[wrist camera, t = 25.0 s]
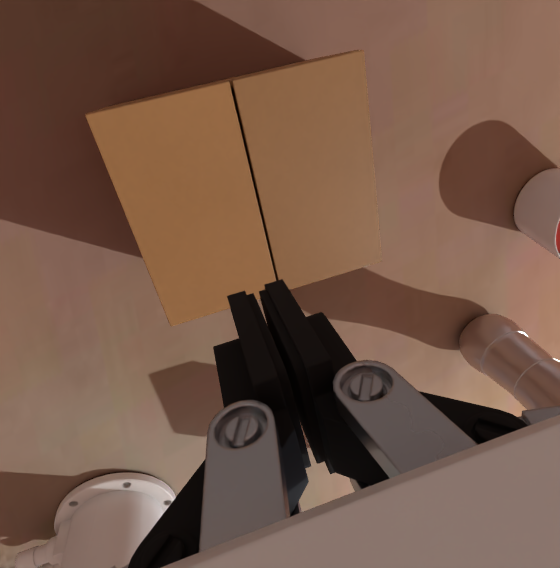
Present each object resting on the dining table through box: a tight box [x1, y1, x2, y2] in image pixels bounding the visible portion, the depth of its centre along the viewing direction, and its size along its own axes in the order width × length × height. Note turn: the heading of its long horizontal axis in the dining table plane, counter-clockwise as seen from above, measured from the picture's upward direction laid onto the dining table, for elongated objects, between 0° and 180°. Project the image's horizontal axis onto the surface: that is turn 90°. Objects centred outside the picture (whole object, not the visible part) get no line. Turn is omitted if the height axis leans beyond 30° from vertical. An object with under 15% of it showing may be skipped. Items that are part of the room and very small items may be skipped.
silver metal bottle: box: [459, 314, 560, 410], centre depth 38 cm, size 6×7×20 cm
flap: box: [85, 81, 276, 326], centre depth 23 cm, size 7×13×1 cm, turn 12°
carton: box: [86, 50, 382, 290], centre depth 28 cm, size 15×13×10 cm
